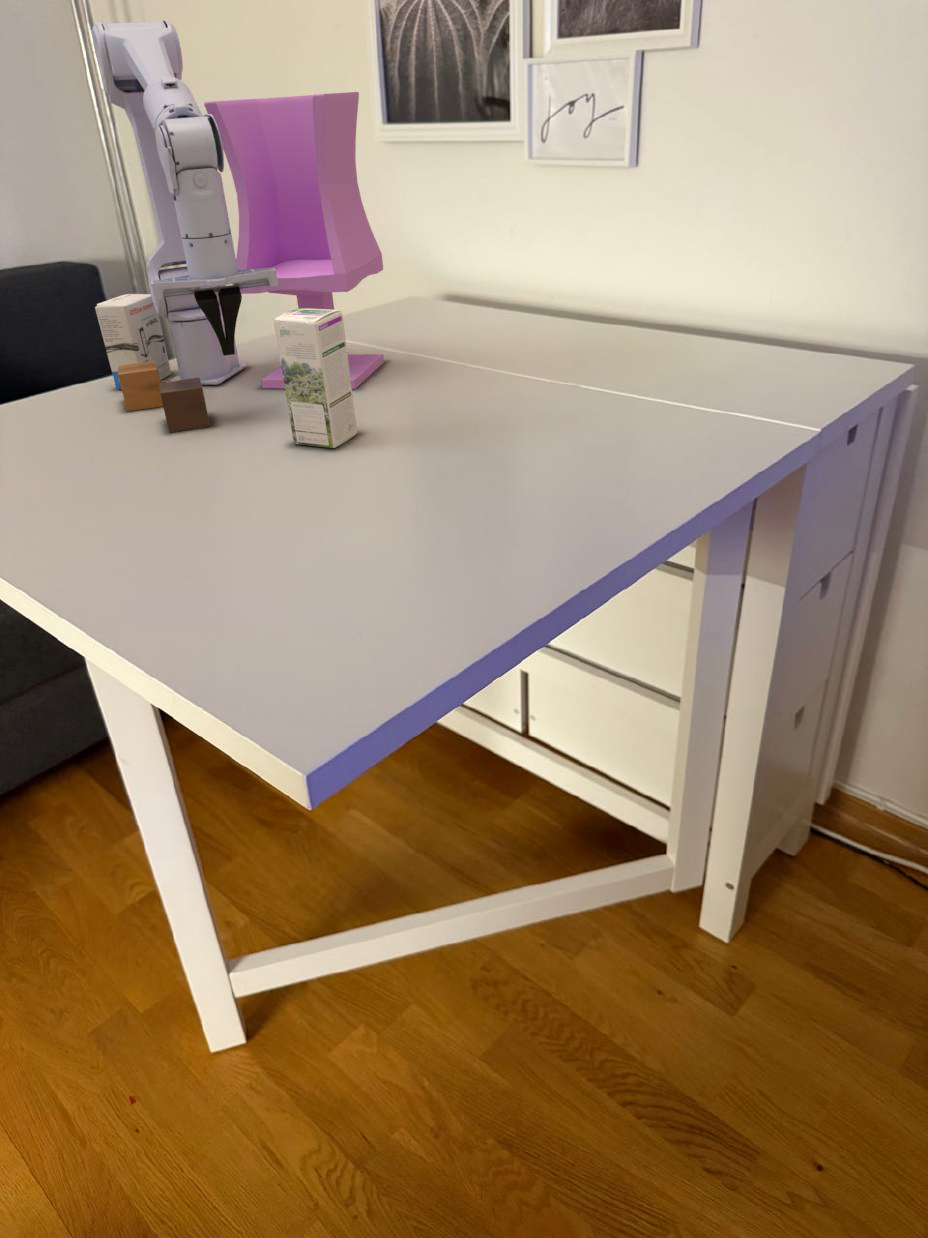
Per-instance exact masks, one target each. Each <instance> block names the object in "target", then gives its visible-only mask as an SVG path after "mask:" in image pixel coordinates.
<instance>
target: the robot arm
mask: <svg viewBox="0 0 928 1238" xmlns="http://www.w3.org/2000/svg"><path fill="white" fill-rule="evenodd" d="M91 35H92V42H93V47H94V53H95V56H96V57H95V58H96V61H97V65H98V69H99V72H100V76H101V80H102V84H103V88H104V91H105V94H106V95H107V97H108V101H109V103H110V104H112V105H115V106H117V107H119V108H121V109H123V110H124V112H125V114H126V117H127V118H128V121H129V123H130V125H131V127H132V131H133V135H134V138H135V143H136V147H137V150H138V154H139V159H140V163H141V167H142V171H143V175H144V180H145V183H146V187H147V192H148V195H149V199H150V204H151V209H152V212H153V216H154V220H155V221H154V222H155V224H156V225H155V226H156V229H157V232H158V236H159V241H160V243H159V244H158V245H157V247H156V248H155V249H154V250H153V251H152V252H151V253H150V254H149V255H148V257H147V258H146V263H145V270H146V274H147V283H148V288H149V292H150V293H149V294H151V297H152V300H153V304H154V307H155V310H156V312H157V313H158V315H159V316H160V317H161V318H166V319H167V323H168V327H169V331H170V336H171V341H172V345H173V350H174V354H175V355H174V356H175V359H176V363H177V367H178V368H177V369H178V373H179V374H178V375H177V376H175V377H173V378H171V379H169V380H168V382H170V381H177V380H184V379H191V378H200V381H201V385H202V386H204V385H206V386H207V385H209V386H211V385H213V386H214V385H216V386H217V385H220V384H222V383H223V382H225V381H227V380H228V379H230V378H231V377H232V376H234V375H236V374H237V373H239V372H241V371H242V370H243V369H245V368H246V364H245V363H240V360H239V354H238V349H237V343H236V337H235V336H236V327H237V320H238V317H239V316H238V315H239V312H240V308H241V304H242V300H243V296H242V295H243V294H241V292H240V289H248V288H257V287H265V286H269V287H275V286H278V280H277V273H276V269H275V268H274V267H271V268H259V269H242V270H238V269H237V263H236V257H237V256H236V253H235V246H234V241H233V235H232V230H231V224H230V223H231V222H230V218H229V212H228V207H227V202H226V201H227V200H226V196H225V191H224V190H225V189H224V184H223V183H224V182H223V178H222V174H221V173H223V172H224V171H225V157H224V156H225V152H224V150H223V145H222V140H221V136H220V133H219V129H218V126H217V124H216V121H215V119H214V117H213V115H212V114H208V113H207V112H205V113H203V112H201V109H200V107H199V106H198V103H197V101H196V99H195V97H194V95H193V93H192V91H191V89H190V88H189V86H188V85H187V84H186V83H185V82H184V81H183V80H182V77H183V70H184V68H183V54H182V48H181V42H180V38H179V35H178V32H177V29H176V27H175V25H173V23H171V21H170V20H169V19H163V20H162V21H137V22H136V21H133V22H132V21H131V22H105V23H101V22H100V21H95V22H94V24H93V27H92V28H91ZM182 265H186V266H182ZM174 266H179V267H174ZM165 267H171V268H165ZM162 268H164V269H162Z"/></svg>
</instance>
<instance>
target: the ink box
mask: <svg viewBox="0 0 928 1238" xmlns="http://www.w3.org/2000/svg"><path fill="white" fill-rule="evenodd" d="M94 309H95V313H96V317H97V321H98V325H99V328H100V332H101V337H102V339H103V344H104V348H105V351H106V356H107V359H108V362H109V366H110V370H111V373H112V378H113V383H114V385H115V389H116V390H122V389H121V385H120V381H119V377H118V366H119V365H126V364H134V363H142V362H149V361H156V363H157V367H158V371H159V376H160V380H161V381H162V380H164V379H165V378H167V377H168V376H170V375H172V370H171V369H172V368H171V365H170V361H169V356H168V351H167V347H166V342H165V339H164V334H163V328H162V325H161V320H160V315H159V314H158V313H157V312H156V310H155V307H154V304H153V300H152V297H151V293H146V294H145V293H125V294H122V295H119V296H116V297H113V298H110V299H107V300H105V301H102V302H98V303H96V306H94Z"/></svg>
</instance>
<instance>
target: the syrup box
mask: <svg viewBox="0 0 928 1238" xmlns="http://www.w3.org/2000/svg"><path fill="white" fill-rule="evenodd" d="M273 327H274V334H275V339H276V344H277V352H278V357H279V363H280V367H281V369H282V375H283V381H284V387H285V388H284V393H285V398H286V404H287V410H288V417H289V422H290V423H289V424H290V427H291V435H292V440H293V443H294V445H302V446H309V447H319V448H327V449H336V448H337V447H339V446H341V445H343V444H344V443H346V442H347V441H349V440H350V439H353V437H355V436H356V435H358V425H357V418H356V412H355V404H354V396H353V389H352V388H351V380H350V372H349V364H348V355H347V354H348V346H347V338H346V330H345V323H344V315H343V310H341V309H334V310H330V309H304V308H300V309H298V308H295V309H291V310H288V311H286V312H284V313H282V314H280V315H279V316H277V317H275V318H273Z"/></svg>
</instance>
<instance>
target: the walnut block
mask: <svg viewBox="0 0 928 1238" xmlns="http://www.w3.org/2000/svg"><path fill="white" fill-rule="evenodd" d="M169 381H170V380H169ZM169 381H163V382H162V381H161V383H159V387H160V395H161V399H162V403H163V406H162V407H163V411H164V416H165V420H166V425H167V430H168V433H169V434H171V433H178V432H184V431H190V430H198V429H204V428H209V427H211V423H210V418H209V414H208V409H207V408H208V407H207V404H206V400H205V393H204V389H203V385H201V381H200V378H191V379H184V380H177V381H170V382H169Z"/></svg>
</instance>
